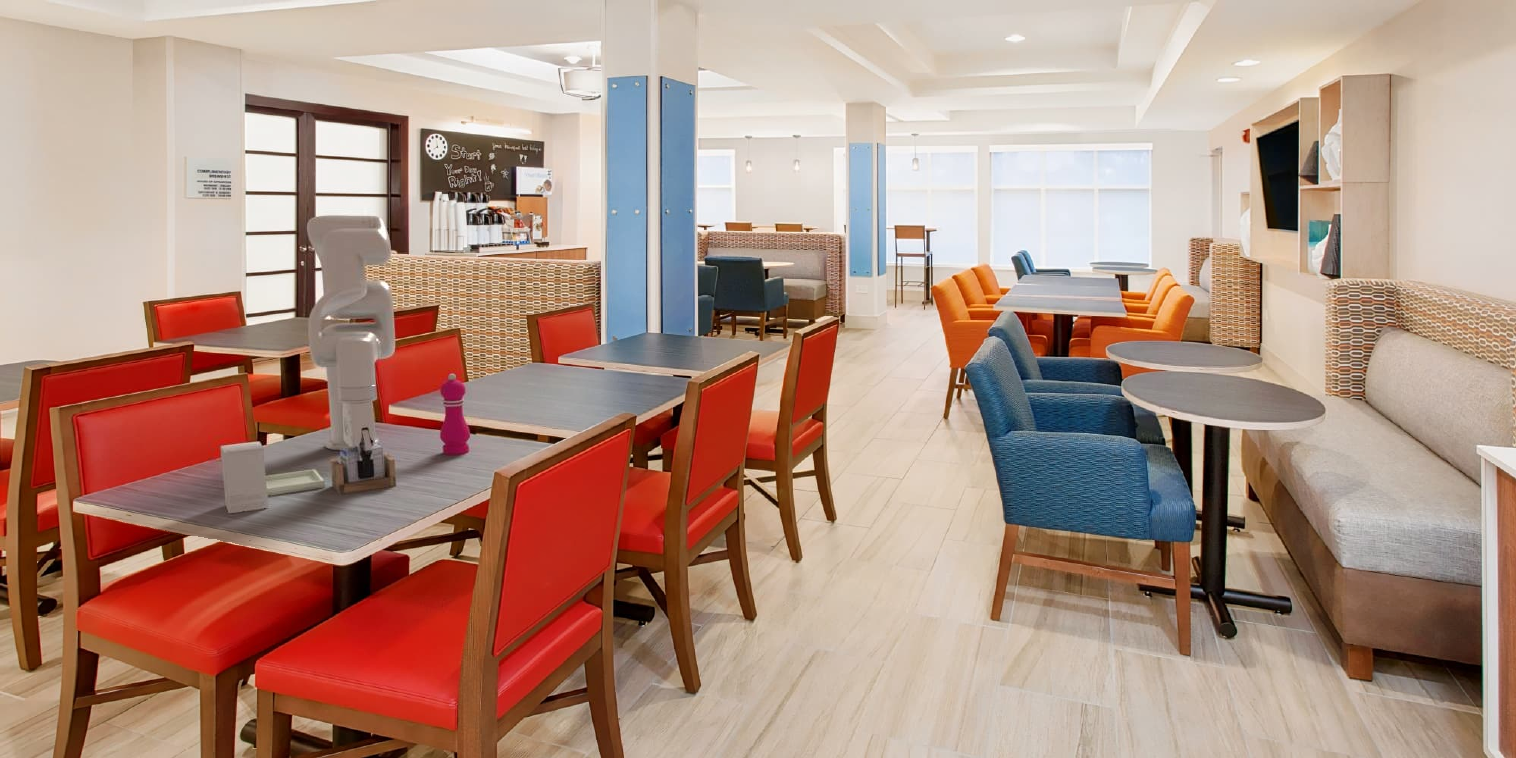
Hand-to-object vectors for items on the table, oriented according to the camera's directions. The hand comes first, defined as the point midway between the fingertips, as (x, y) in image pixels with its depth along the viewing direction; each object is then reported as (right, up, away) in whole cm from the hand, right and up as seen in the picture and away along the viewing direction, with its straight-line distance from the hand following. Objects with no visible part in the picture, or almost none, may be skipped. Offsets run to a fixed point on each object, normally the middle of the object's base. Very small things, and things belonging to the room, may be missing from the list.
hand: (363, 474), depth 206 cm
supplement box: (-18, -5, -14) cm, 23 cm away
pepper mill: (+11, +2, +30) cm, 32 cm away
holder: (0, -3, 0) cm, 3 cm away
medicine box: (0, -3, 0) cm, 3 cm away
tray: (-16, -3, 0) cm, 16 cm away
